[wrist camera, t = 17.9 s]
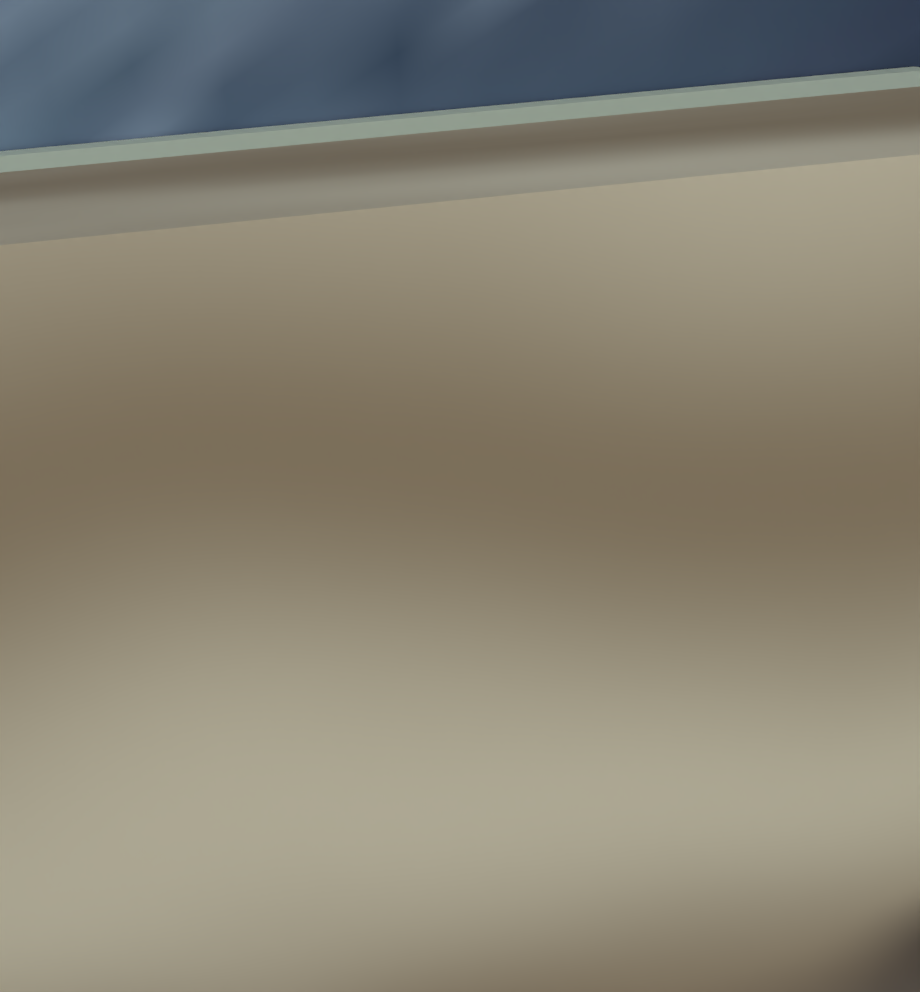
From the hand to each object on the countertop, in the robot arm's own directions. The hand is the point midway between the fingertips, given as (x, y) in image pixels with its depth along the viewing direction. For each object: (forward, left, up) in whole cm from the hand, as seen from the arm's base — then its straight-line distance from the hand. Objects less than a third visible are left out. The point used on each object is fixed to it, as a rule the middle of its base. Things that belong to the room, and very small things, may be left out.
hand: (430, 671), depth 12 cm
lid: (0, 0, +2) cm, 2 cm away
